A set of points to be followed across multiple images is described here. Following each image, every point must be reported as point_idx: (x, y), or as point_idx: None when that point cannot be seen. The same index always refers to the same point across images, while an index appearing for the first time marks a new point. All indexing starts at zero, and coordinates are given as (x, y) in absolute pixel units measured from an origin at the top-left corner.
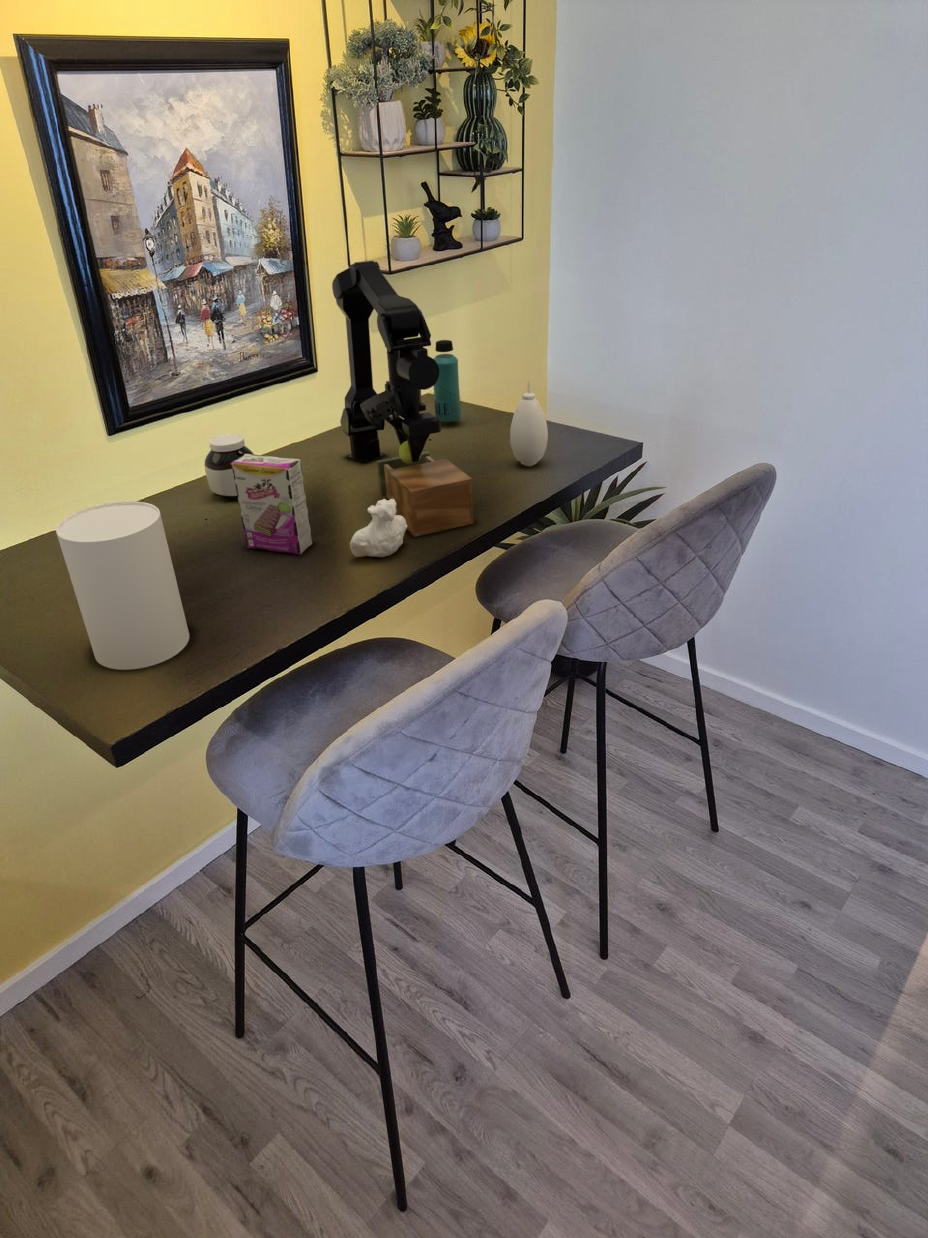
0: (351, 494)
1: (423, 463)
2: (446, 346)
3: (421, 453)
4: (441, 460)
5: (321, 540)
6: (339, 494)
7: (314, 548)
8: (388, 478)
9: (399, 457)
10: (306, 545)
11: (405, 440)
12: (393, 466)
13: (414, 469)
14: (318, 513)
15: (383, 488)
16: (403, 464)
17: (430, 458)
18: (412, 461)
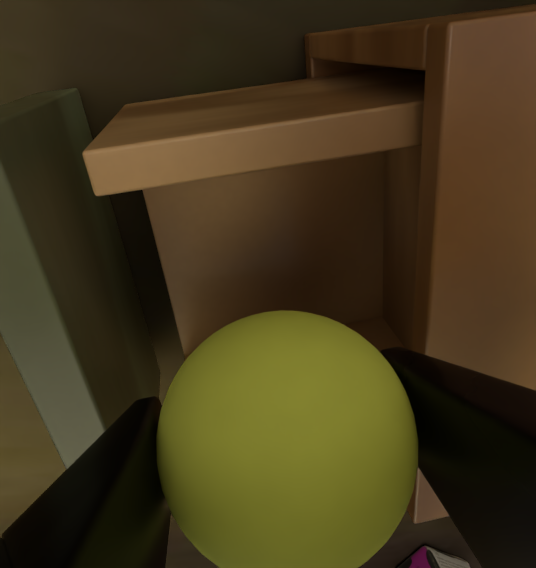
0: (36, 462)
1: (433, 297)
2: None
3: (332, 325)
4: (463, 99)
5: (410, 527)
6: (25, 499)
7: (448, 537)
8: None
9: (71, 423)
10: (452, 563)
11: (142, 556)
12: None
13: (515, 381)
14: None
15: (155, 392)
16: (105, 362)
17: (172, 156)
18: None
